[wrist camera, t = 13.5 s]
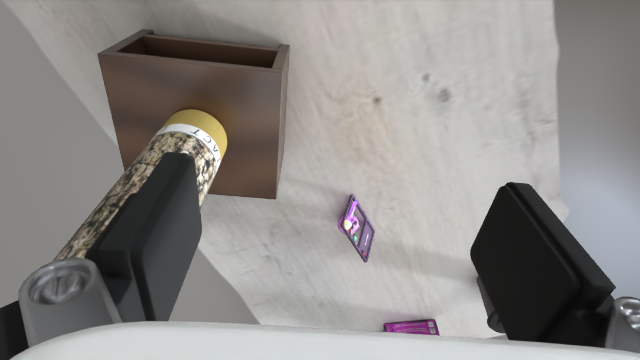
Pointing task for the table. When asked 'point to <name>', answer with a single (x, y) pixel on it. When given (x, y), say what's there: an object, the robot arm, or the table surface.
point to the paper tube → (175, 136)
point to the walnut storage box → (203, 101)
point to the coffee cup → (490, 310)
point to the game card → (351, 224)
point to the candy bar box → (413, 327)
